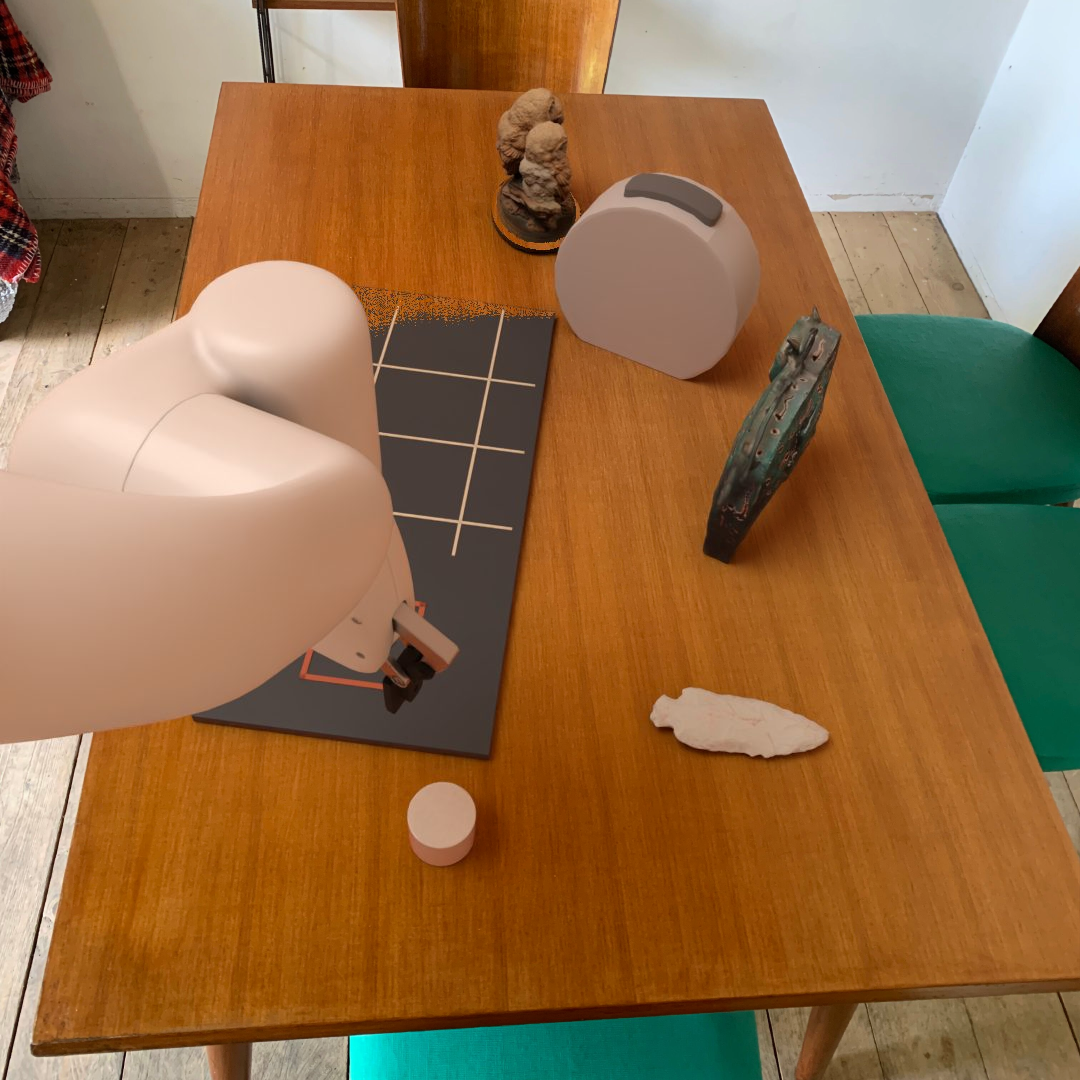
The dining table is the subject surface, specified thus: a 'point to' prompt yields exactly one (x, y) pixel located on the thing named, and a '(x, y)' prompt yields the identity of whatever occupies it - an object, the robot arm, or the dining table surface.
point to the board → (435, 530)
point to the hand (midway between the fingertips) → (341, 661)
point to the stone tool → (736, 724)
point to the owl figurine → (535, 171)
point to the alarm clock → (659, 274)
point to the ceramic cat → (773, 433)
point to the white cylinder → (441, 823)
